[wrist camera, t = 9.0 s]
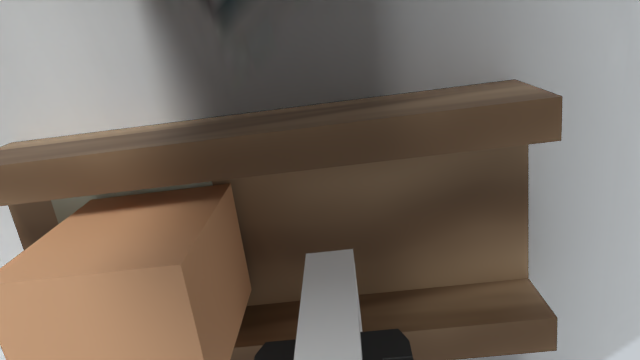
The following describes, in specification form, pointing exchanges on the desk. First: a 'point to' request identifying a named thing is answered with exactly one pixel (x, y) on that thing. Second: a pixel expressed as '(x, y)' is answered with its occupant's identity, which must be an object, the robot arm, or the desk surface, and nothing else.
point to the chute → (342, 205)
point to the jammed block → (131, 281)
